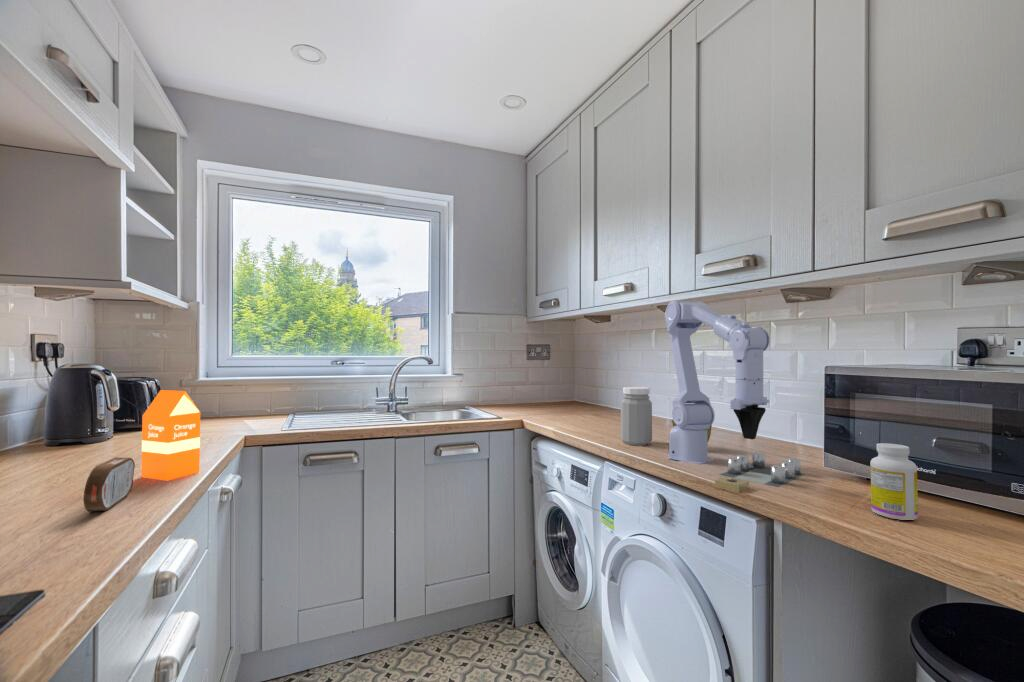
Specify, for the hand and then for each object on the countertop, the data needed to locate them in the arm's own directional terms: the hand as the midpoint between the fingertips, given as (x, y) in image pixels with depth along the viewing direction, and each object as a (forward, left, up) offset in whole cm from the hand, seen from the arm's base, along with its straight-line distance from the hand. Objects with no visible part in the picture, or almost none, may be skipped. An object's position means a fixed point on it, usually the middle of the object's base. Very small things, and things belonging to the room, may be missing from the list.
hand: (749, 438), depth 106 cm
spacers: (0, +9, -9) cm, 13 cm away
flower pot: (-27, +23, -10) cm, 37 cm away
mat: (0, +7, -10) cm, 12 cm away
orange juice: (-90, -102, -10) cm, 136 cm away
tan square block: (0, -9, -10) cm, 14 cm away
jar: (-43, +17, -10) cm, 47 cm away
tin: (-71, -112, -10) cm, 133 cm away
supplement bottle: (+26, -2, -10) cm, 28 cm away
